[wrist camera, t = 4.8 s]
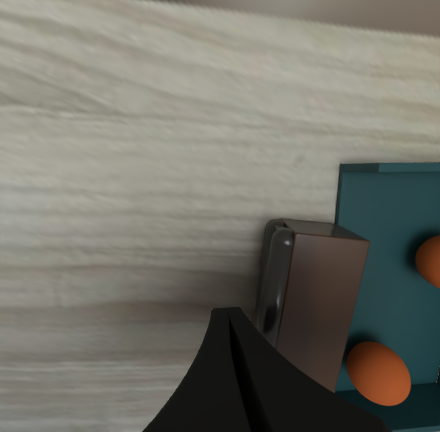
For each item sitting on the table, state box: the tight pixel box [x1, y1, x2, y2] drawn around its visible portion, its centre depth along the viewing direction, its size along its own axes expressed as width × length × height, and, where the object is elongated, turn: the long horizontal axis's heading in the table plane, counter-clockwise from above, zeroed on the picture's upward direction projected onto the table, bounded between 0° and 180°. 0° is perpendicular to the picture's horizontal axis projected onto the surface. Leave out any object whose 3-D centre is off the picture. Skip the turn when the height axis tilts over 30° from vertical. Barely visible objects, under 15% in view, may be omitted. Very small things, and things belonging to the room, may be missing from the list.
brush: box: [252, 219, 370, 393], centre depth 12 cm, size 3×10×4 cm
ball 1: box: [346, 341, 411, 406], centre depth 13 cm, size 3×3×3 cm
